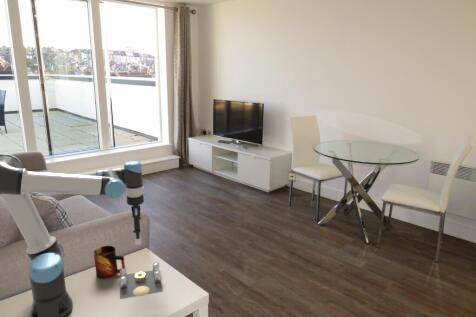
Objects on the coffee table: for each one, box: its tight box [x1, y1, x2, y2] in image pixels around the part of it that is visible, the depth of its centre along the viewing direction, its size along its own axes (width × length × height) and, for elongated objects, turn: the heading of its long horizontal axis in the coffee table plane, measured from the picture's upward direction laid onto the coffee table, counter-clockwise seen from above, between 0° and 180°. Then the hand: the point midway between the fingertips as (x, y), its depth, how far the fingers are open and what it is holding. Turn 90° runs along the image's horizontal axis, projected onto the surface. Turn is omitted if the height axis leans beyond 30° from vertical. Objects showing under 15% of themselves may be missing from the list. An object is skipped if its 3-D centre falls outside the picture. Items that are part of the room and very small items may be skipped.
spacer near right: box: [154, 269, 162, 283], centre depth 158 cm, size 3×3×5 cm
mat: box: [119, 269, 164, 300], centre depth 157 cm, size 18×18×1 cm
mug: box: [93, 245, 126, 280], centre depth 164 cm, size 10×14×12 cm
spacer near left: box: [118, 276, 127, 290], centre depth 154 cm, size 3×3×5 cm
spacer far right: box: [152, 262, 160, 274], centre depth 164 cm, size 3×3×5 cm
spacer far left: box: [119, 266, 128, 278], centre depth 160 cm, size 3×3×5 cm
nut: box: [135, 271, 146, 283], centre depth 160 cm, size 5×4×2 cm
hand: (137, 238), depth 162 cm, fingers open, 11 cm apart
